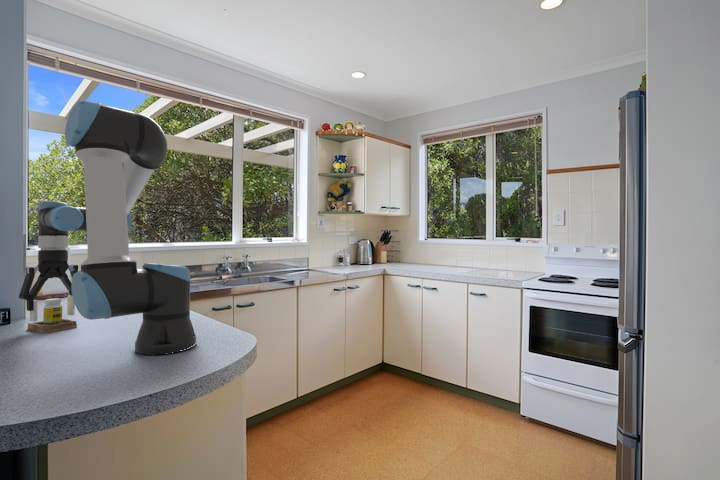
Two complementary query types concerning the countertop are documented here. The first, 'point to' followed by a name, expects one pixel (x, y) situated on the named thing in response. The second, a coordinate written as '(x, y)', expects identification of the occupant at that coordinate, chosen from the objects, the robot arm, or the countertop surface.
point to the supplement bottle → (52, 312)
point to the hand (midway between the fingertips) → (52, 317)
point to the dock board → (52, 326)
